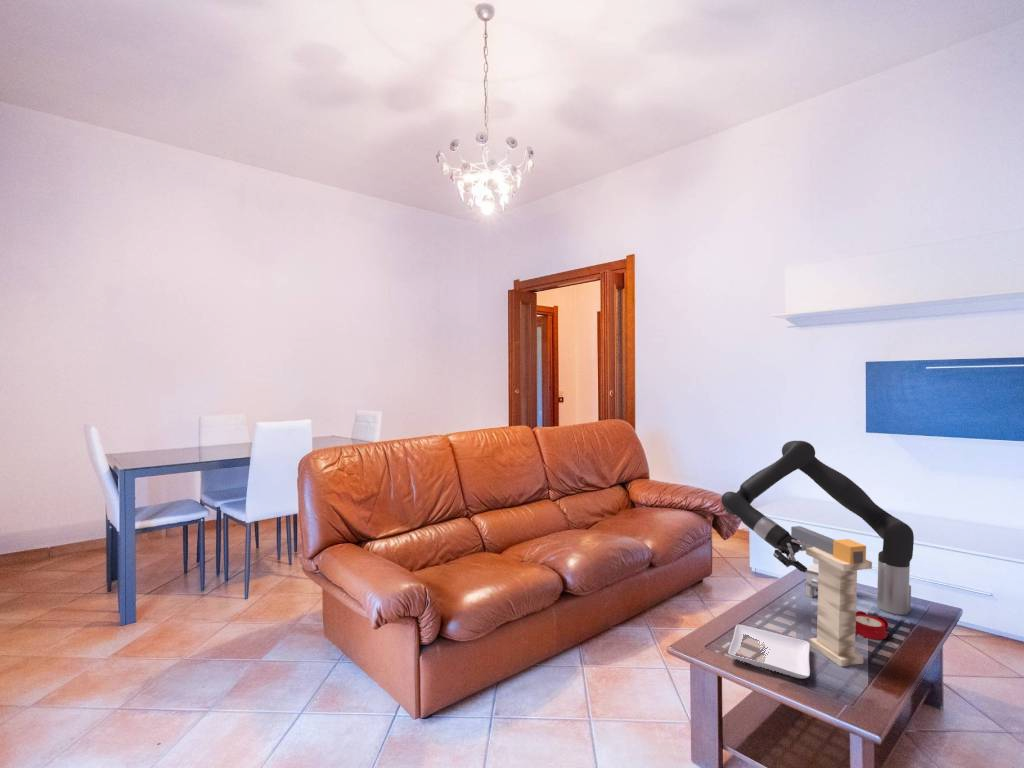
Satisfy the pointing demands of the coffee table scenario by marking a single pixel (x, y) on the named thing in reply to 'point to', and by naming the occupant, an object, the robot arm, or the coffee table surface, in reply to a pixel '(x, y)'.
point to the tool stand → (836, 608)
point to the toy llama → (812, 578)
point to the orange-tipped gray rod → (832, 545)
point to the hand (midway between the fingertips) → (813, 564)
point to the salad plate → (775, 651)
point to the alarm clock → (871, 626)
